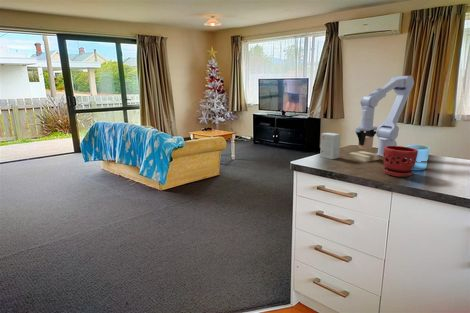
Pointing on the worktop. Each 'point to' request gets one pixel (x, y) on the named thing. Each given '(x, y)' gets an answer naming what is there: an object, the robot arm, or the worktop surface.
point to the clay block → (367, 143)
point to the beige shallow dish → (364, 156)
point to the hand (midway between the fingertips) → (364, 144)
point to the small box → (330, 145)
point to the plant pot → (399, 160)
